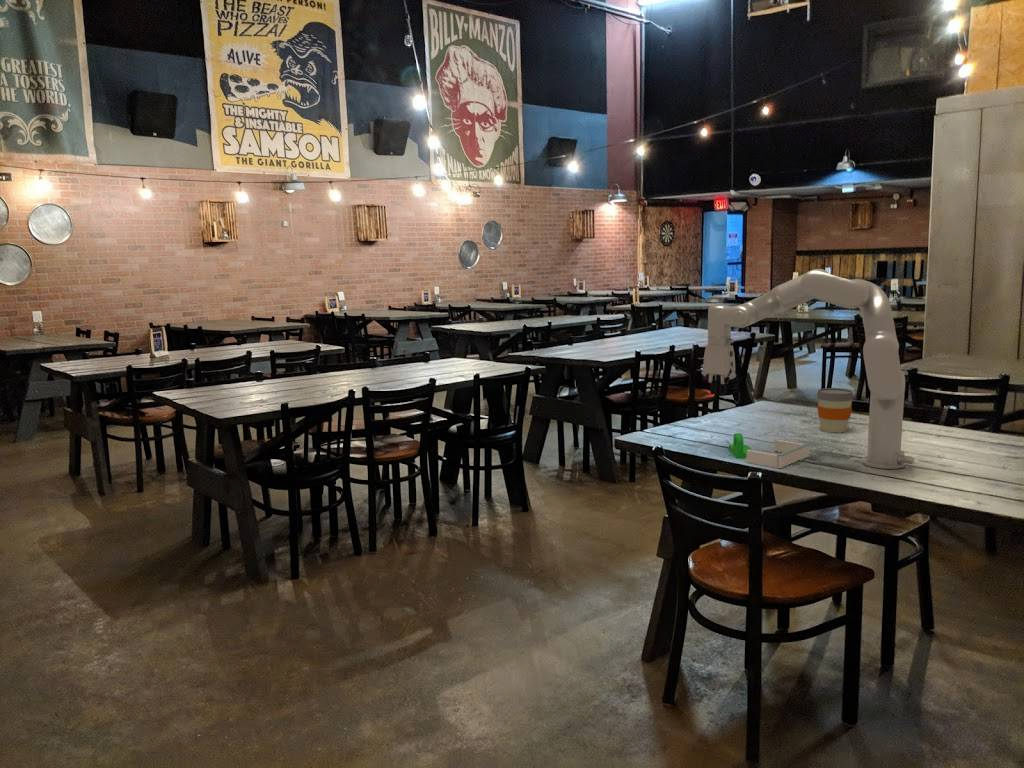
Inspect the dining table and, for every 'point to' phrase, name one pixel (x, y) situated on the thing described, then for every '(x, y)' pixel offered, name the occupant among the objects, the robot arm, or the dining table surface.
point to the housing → (789, 455)
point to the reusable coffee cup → (834, 408)
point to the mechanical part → (739, 447)
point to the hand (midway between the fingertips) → (718, 394)
